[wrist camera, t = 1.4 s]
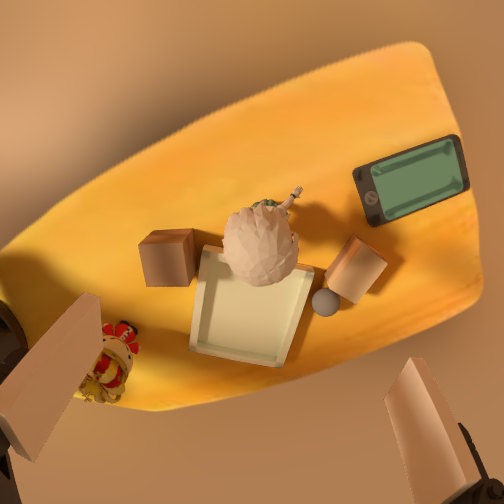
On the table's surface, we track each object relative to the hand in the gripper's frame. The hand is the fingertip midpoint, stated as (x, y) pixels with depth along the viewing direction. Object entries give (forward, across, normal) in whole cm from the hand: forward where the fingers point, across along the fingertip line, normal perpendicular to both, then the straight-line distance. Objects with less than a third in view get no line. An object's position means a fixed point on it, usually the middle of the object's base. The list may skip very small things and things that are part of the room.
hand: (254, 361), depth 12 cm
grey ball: (+25, +10, -9) cm, 28 cm away
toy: (+25, -15, -21) cm, 36 cm away
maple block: (+25, +12, -4) cm, 28 cm away
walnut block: (+25, -9, -7) cm, 27 cm away
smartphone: (+26, +17, +8) cm, 31 cm away
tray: (+25, +1, -13) cm, 28 cm away
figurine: (+25, 0, 0) cm, 25 cm away
